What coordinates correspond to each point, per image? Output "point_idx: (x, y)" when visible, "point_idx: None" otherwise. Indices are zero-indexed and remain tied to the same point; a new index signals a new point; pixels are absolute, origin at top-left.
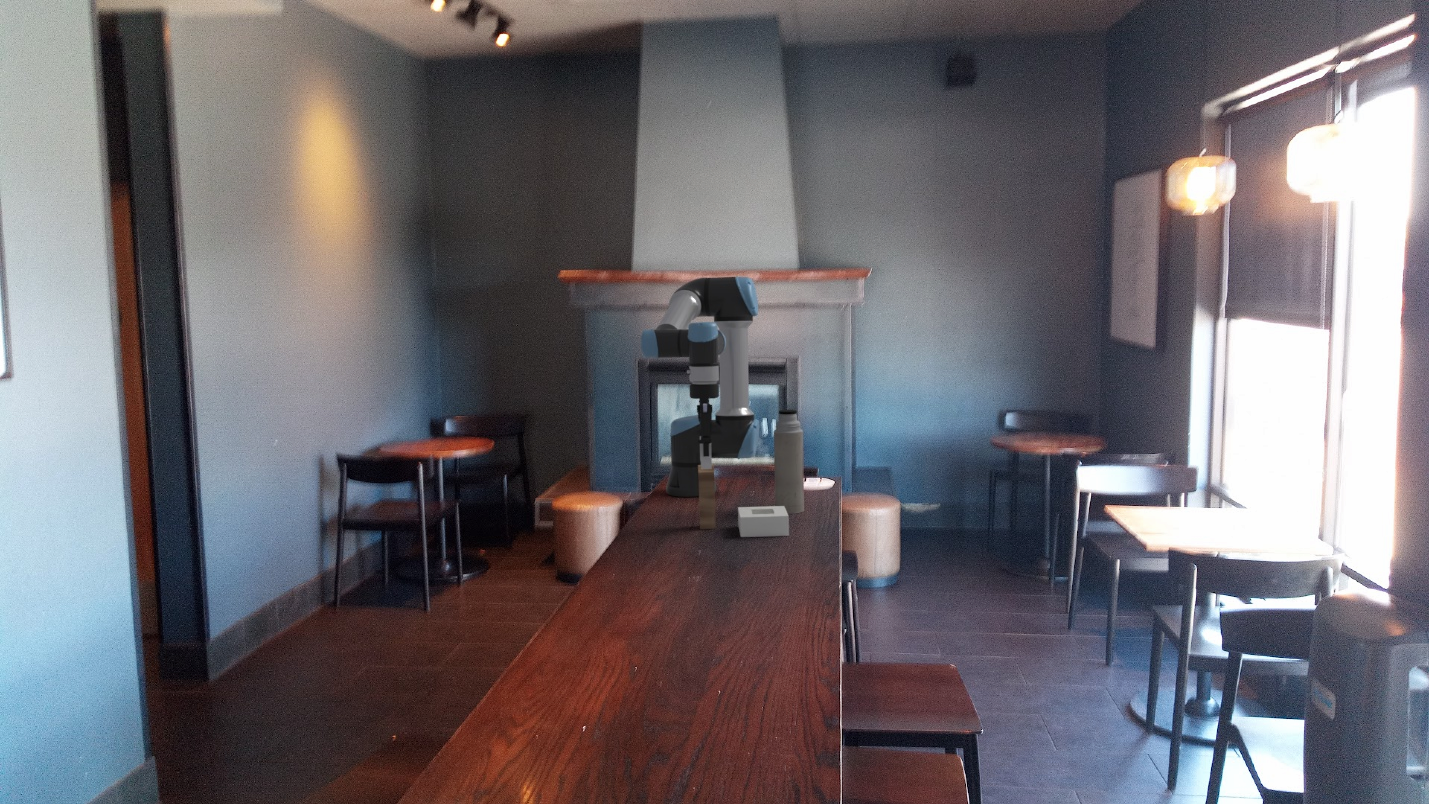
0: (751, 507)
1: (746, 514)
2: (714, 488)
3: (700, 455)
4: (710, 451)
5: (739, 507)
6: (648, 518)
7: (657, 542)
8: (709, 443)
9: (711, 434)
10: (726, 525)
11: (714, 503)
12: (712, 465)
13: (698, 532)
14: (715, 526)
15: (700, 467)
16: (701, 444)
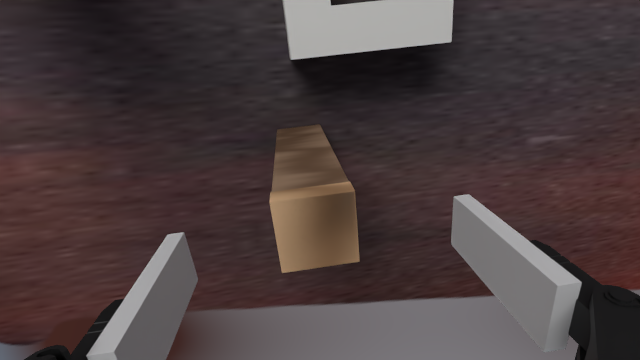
0: (294, 5)
1: (411, 21)
2: (336, 158)
3: (188, 299)
4: (532, 250)
5: (294, 53)
6: (206, 297)
7: (445, 238)
8: (578, 293)
9: (40, 358)
10: (278, 96)
11: (328, 143)
12: (291, 206)
13: (359, 164)
14: (319, 125)
15: (348, 253)
16: (560, 337)
